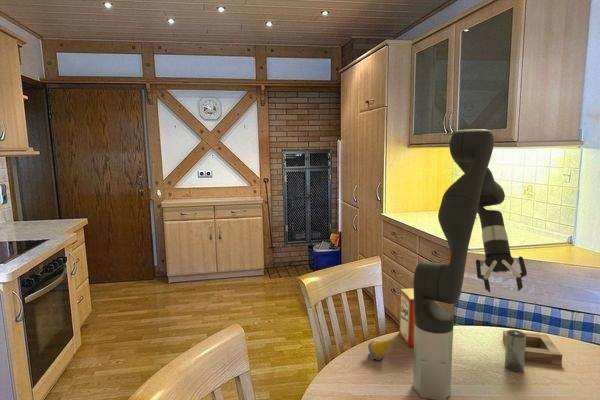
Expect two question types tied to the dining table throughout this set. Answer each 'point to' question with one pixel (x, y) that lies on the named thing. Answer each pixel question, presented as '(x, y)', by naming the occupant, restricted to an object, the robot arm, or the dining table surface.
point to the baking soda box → (407, 316)
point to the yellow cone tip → (378, 349)
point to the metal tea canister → (515, 351)
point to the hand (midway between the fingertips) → (504, 291)
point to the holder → (542, 355)
